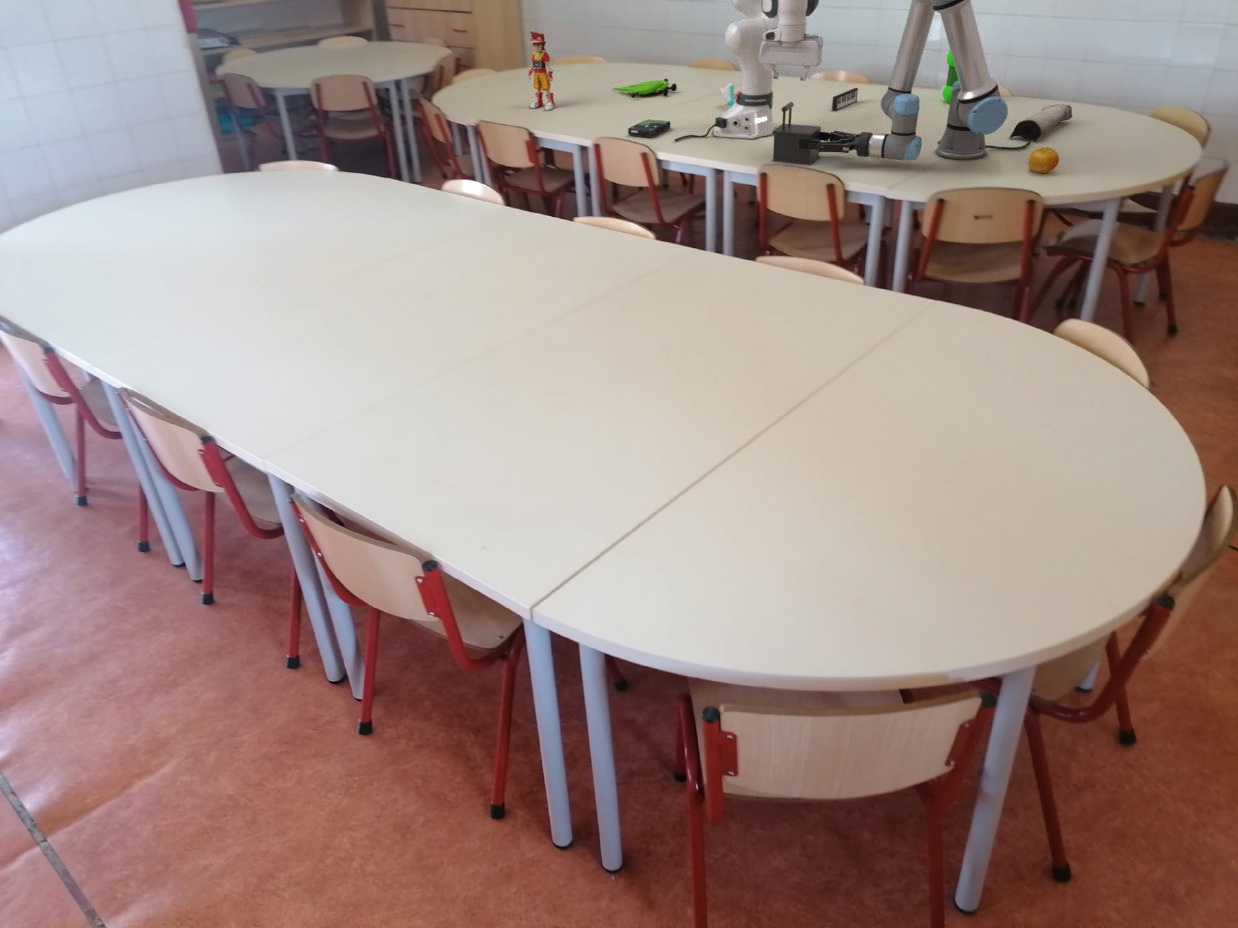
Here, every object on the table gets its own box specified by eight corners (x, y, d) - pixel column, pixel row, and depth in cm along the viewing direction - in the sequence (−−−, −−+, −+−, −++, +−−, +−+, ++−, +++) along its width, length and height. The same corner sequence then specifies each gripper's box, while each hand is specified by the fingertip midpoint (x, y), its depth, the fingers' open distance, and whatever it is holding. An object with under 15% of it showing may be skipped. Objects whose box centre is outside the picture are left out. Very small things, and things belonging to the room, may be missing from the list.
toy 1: (525, 109, 381) (517, 32, 364) (534, 104, 388) (527, 28, 371) (550, 110, 377) (543, 32, 360) (559, 105, 384) (553, 28, 367)
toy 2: (686, 85, 398) (631, 84, 414) (685, 72, 395) (629, 72, 411) (651, 104, 381) (596, 103, 397) (650, 92, 378) (594, 91, 394)
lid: (772, 133, 299) (773, 107, 294) (782, 126, 306) (783, 100, 301) (811, 137, 293) (813, 110, 288) (820, 129, 300) (822, 103, 295)
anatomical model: (716, 82, 367) (740, 75, 367) (721, 107, 373) (744, 101, 372) (722, 90, 355) (747, 83, 354) (727, 117, 361) (751, 110, 360)
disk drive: (651, 138, 334) (670, 128, 344) (651, 131, 332) (670, 120, 342) (627, 136, 339) (647, 125, 349) (627, 128, 337) (647, 118, 347)
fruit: (1023, 163, 276) (1041, 139, 273) (1022, 165, 284) (1039, 142, 281) (1047, 178, 275) (1065, 155, 272) (1044, 180, 283) (1062, 157, 280)
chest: (772, 161, 304) (774, 134, 298) (782, 153, 310) (784, 126, 305) (809, 164, 298) (811, 137, 293) (818, 156, 305) (820, 129, 300)
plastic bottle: (973, 101, 354) (984, 32, 339) (955, 106, 349) (966, 36, 335) (952, 97, 361) (962, 29, 346) (934, 102, 356) (944, 33, 342)
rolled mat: (1039, 109, 327) (1064, 92, 319) (1053, 130, 328) (1078, 113, 320) (1005, 132, 310) (1030, 114, 302) (1020, 154, 310) (1045, 137, 302)
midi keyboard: (834, 110, 353) (835, 97, 350) (831, 110, 354) (832, 97, 351) (857, 101, 364) (858, 88, 361) (854, 101, 364) (855, 88, 361)
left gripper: (826, 32, 282) (823, 79, 290) (765, 30, 290) (763, 76, 298) (820, 36, 277) (816, 83, 285) (758, 34, 286) (756, 80, 294)
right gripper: (860, 166, 284) (792, 160, 294) (879, 147, 300) (814, 142, 309) (862, 142, 280) (794, 136, 289) (881, 124, 296) (816, 119, 305)
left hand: (789, 80), depth 292 cm, fingers open, 8 cm apart
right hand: (804, 139), depth 299 cm, fingers closed on chest, 10 cm apart
